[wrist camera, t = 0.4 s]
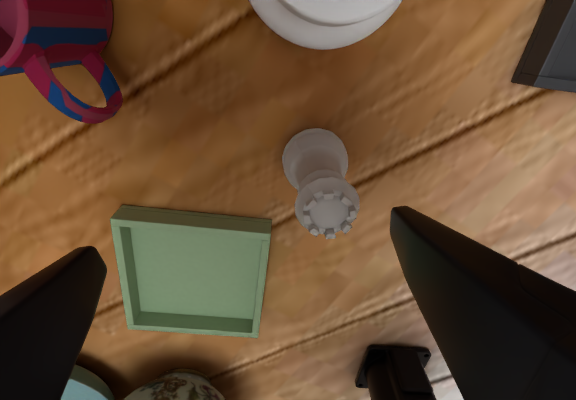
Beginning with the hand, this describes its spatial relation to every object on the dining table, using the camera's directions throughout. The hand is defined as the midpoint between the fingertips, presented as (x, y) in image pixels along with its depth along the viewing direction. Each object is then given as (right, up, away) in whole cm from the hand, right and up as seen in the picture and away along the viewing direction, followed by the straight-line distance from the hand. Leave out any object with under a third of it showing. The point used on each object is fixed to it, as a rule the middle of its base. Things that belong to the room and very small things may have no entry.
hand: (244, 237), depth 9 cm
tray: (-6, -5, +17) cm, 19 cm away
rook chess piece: (+3, +4, +13) cm, 14 cm away
